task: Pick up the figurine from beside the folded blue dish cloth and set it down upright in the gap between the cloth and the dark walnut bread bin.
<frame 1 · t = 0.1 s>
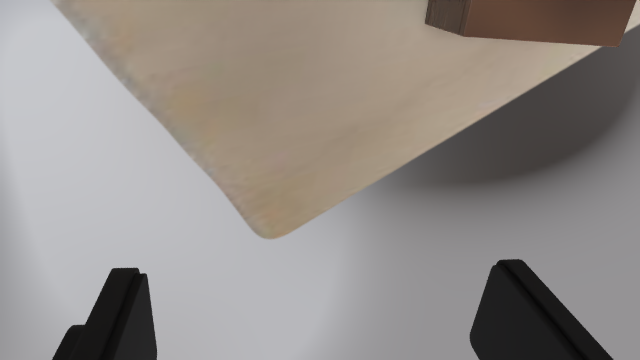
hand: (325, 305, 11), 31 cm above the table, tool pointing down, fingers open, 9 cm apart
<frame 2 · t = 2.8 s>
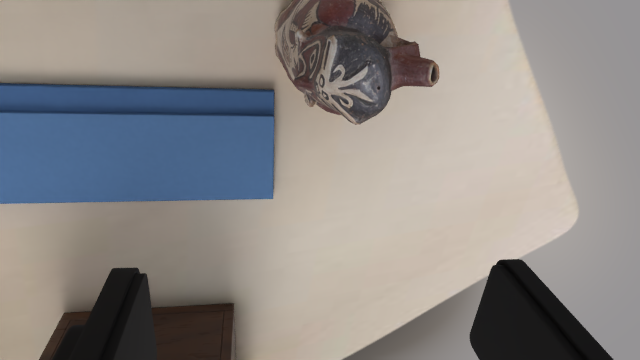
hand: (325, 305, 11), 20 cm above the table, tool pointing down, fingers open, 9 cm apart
figurine: (328, 38, 27), on the table
dish cloth: (125, 144, 28), on the table
bread bin: (158, 352, 37), on the table
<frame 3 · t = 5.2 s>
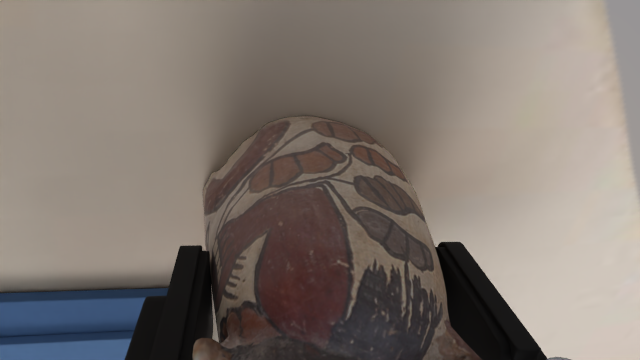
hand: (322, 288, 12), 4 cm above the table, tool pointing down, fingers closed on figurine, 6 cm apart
figurine: (305, 206, 15), on the table, touching gripper
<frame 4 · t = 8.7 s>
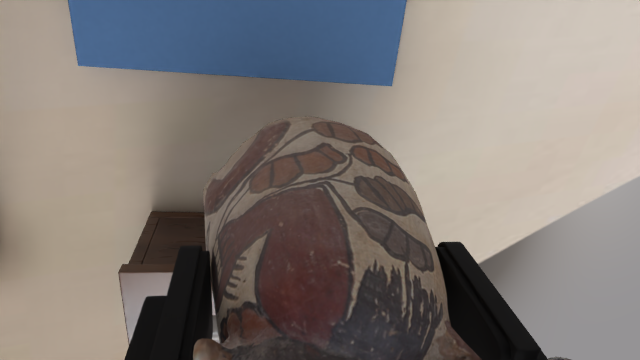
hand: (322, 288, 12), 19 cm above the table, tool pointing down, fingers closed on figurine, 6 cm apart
figurine: (305, 206, 15), point 15 cm above the table, touching gripper
dish cloth: (245, 9, 26), on the table
bread bin: (241, 267, 35), on the table
bread bin lid: (236, 355, 26), point 9 cm above the table, hinge at 0.0°
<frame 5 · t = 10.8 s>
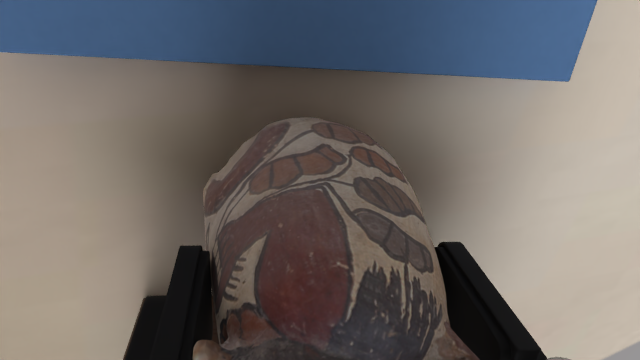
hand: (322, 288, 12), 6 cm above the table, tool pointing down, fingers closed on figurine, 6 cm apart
figurine: (305, 207, 15), point 2 cm above the table, touching gripper
when the fingers open (4 cm above the table, at t = 12.1 s): figurine stays where it is, on the table.
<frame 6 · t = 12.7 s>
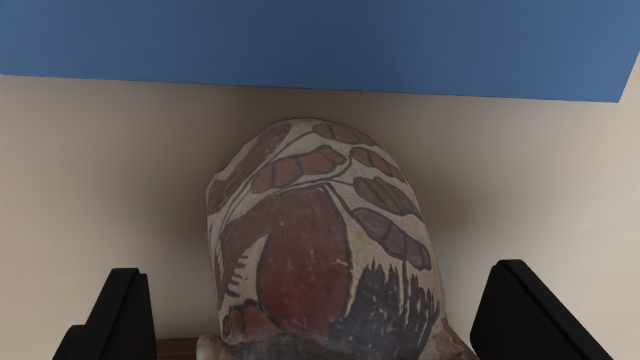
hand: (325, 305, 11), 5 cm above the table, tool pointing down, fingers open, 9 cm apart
figurine: (306, 206, 15), on the table
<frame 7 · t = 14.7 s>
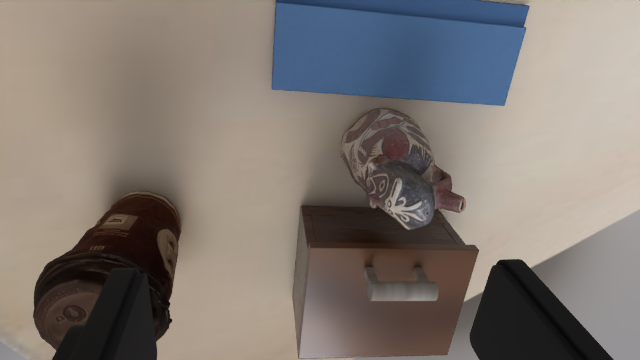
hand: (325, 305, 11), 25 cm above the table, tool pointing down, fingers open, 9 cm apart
figurine: (380, 146, 37), on the table
coffee cup: (148, 221, 38), on the table
dish cloth: (398, 46, 34), on the table
bread bin: (363, 253, 42), on the table
bread bin lid: (389, 317, 33), point 9 cm above the table, hinge at 0.0°
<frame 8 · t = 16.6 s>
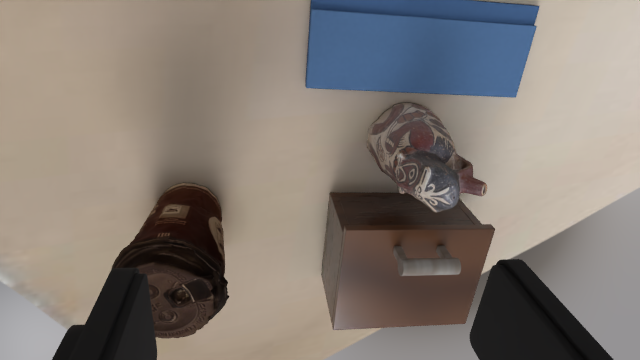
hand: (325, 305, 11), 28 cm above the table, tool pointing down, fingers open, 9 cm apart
figurine: (402, 136, 41), on the table
coffee cup: (191, 210, 41), on the table
dish cloth: (420, 45, 37), on the table
bread bin: (386, 235, 46), on the table
bread bin lid: (415, 290, 37), point 9 cm above the table, hinge at 0.0°
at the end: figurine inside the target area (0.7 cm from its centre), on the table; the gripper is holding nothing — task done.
